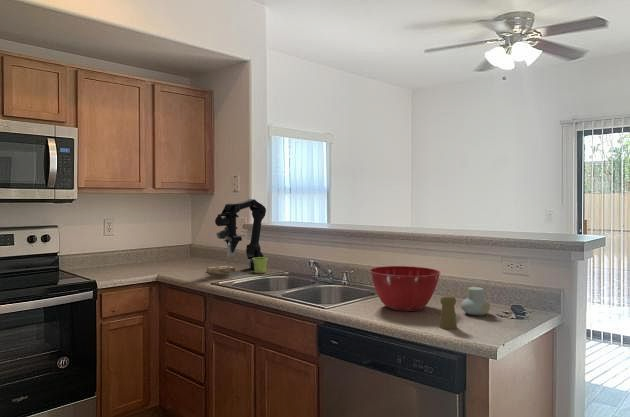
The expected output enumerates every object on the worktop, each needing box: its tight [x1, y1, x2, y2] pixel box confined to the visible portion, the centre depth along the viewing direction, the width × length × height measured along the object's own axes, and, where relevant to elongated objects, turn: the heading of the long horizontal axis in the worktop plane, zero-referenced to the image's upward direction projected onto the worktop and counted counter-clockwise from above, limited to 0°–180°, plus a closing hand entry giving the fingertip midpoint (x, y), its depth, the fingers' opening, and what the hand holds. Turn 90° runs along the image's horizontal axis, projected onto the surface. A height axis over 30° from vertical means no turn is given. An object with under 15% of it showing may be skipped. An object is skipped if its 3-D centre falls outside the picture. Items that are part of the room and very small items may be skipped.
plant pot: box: [252, 256, 269, 274], centre depth 288 cm, size 9×9×9 cm
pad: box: [228, 271, 248, 276], centre depth 284 cm, size 9×9×1 cm
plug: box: [226, 243, 236, 258], centre depth 284 cm, size 4×4×8 cm
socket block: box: [206, 265, 236, 275], centre depth 289 cm, size 14×10×3 cm
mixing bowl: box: [369, 265, 441, 312], centre depth 201 cm, size 28×28×15 cm
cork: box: [438, 294, 458, 330], centre depth 172 cm, size 6×6×11 cm
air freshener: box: [460, 286, 491, 317], centre depth 191 cm, size 11×8×10 cm
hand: (231, 252), depth 284 cm, fingers closed on plug, 4 cm apart
